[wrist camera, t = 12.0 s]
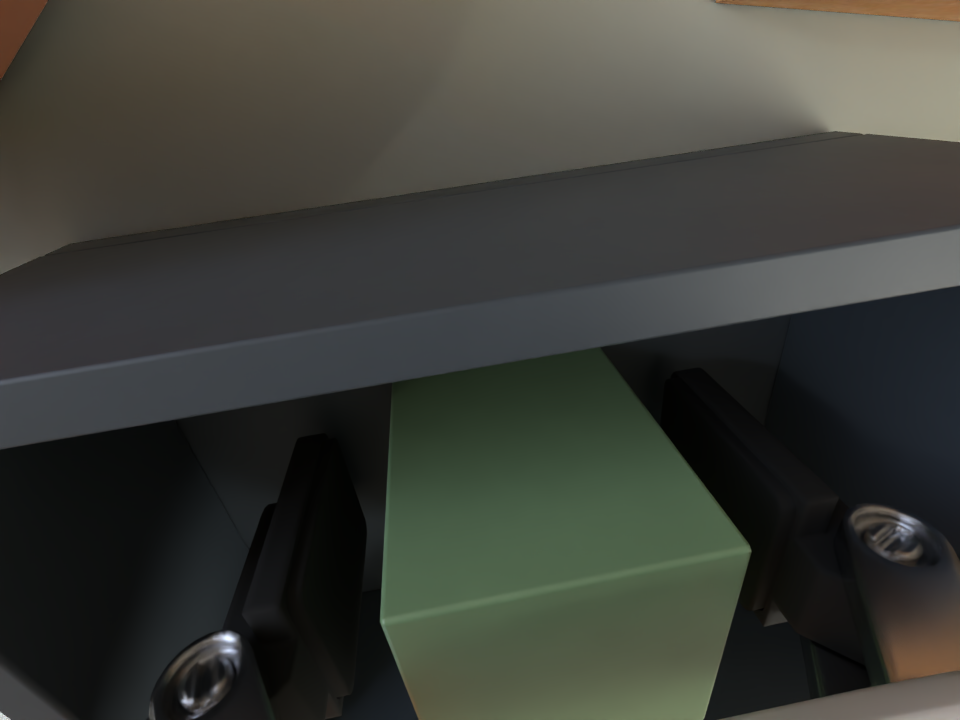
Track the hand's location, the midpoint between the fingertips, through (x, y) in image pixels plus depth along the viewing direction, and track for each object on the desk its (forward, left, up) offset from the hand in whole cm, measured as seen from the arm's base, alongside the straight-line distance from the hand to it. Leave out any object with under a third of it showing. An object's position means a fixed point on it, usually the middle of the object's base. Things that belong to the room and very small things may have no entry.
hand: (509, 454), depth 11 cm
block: (0, 0, -1) cm, 1 cm away
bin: (0, 0, -2) cm, 2 cm away
